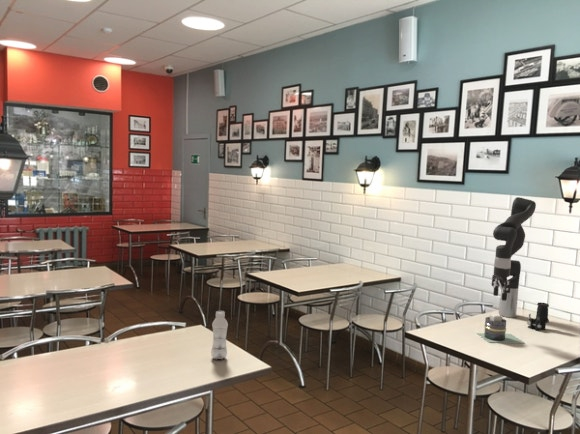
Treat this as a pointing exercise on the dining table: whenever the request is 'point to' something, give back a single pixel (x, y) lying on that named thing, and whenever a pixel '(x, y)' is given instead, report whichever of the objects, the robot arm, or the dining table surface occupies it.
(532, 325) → the scope
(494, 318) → the white stepped cube
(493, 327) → the grey faceted ring
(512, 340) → the mat
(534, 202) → the robot arm
